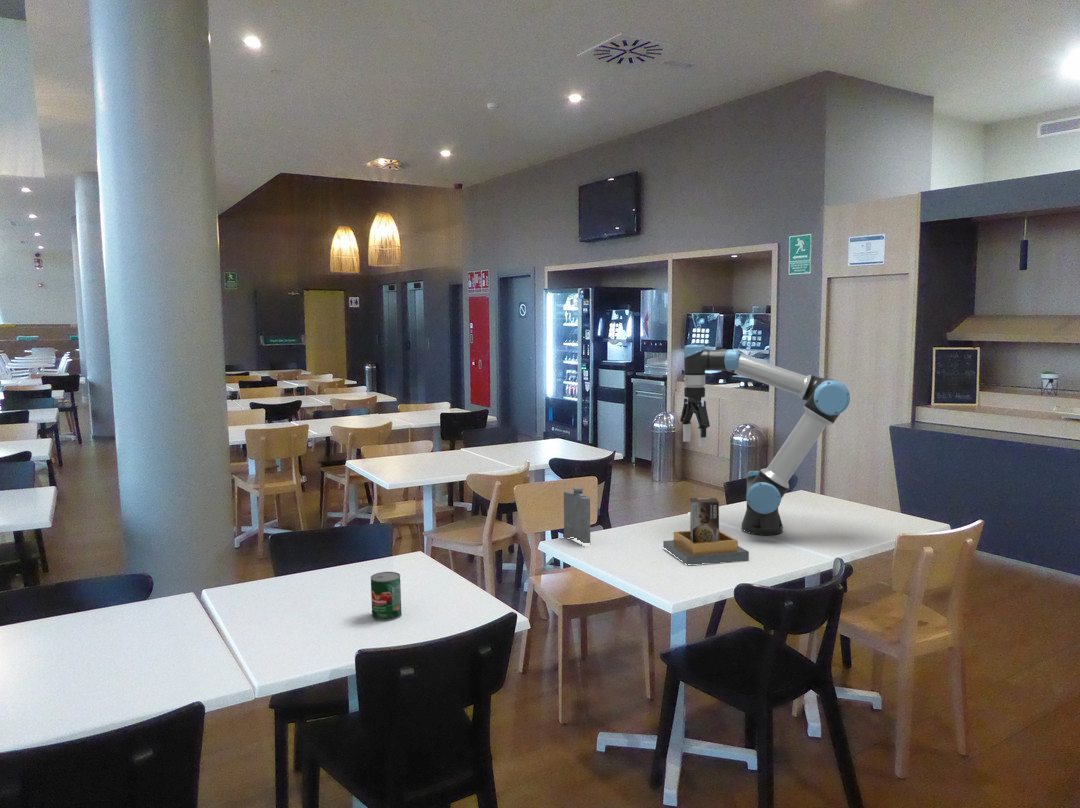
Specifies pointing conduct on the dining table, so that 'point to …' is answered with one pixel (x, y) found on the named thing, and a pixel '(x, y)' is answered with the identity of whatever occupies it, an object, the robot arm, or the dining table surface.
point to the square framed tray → (705, 549)
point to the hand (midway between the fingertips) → (694, 443)
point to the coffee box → (704, 520)
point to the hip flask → (577, 515)
